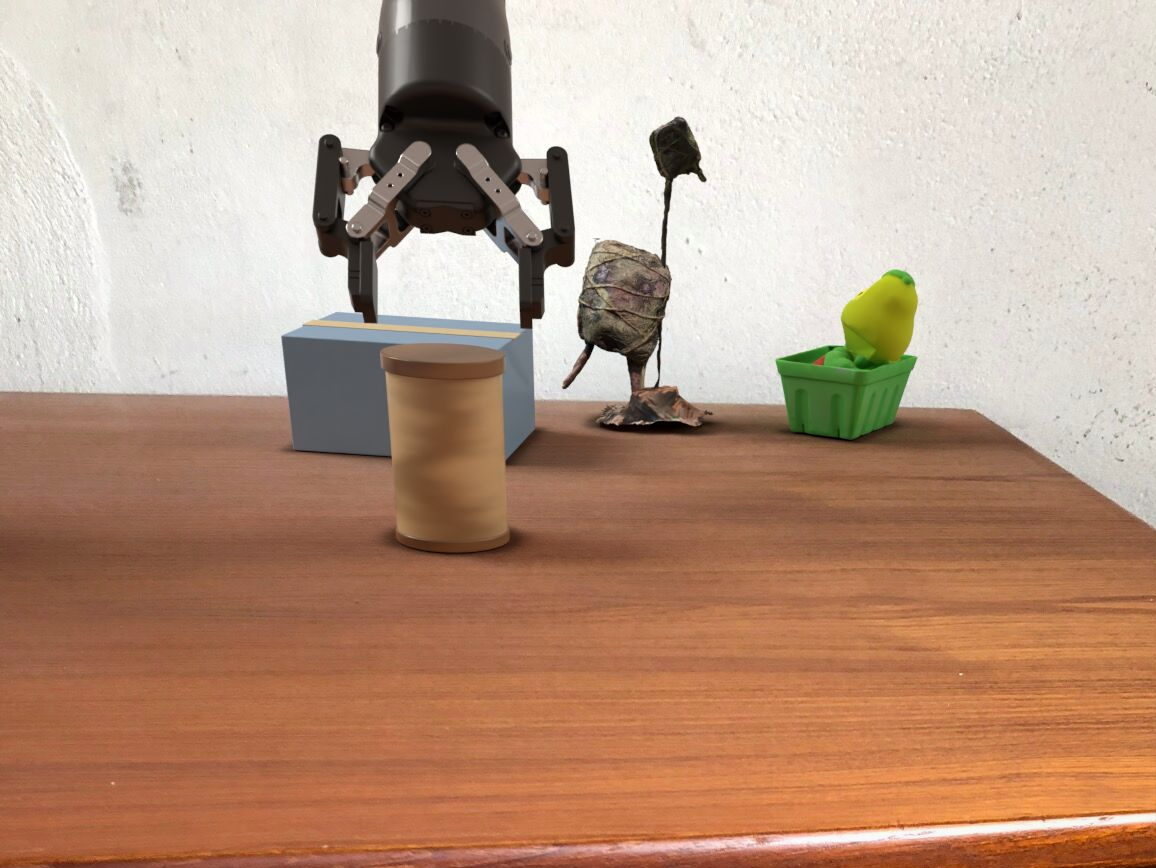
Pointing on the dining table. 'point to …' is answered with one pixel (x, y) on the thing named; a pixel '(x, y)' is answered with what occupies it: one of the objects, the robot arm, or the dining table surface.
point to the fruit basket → (856, 365)
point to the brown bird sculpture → (637, 298)
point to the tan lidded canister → (447, 445)
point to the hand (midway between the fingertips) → (447, 316)
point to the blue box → (358, 383)
